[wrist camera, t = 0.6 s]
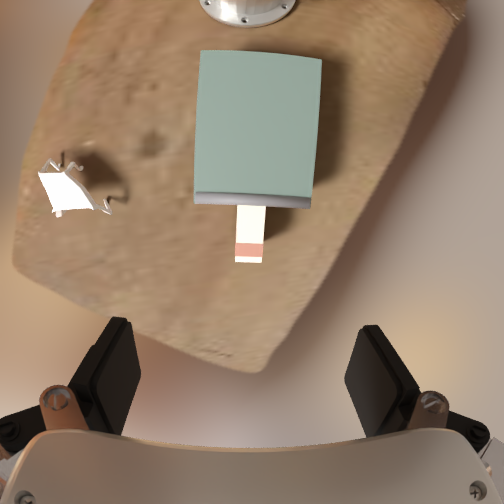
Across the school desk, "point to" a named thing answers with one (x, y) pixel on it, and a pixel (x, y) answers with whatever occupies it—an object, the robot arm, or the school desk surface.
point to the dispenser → (256, 128)
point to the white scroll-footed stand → (67, 190)
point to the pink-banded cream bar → (249, 233)
